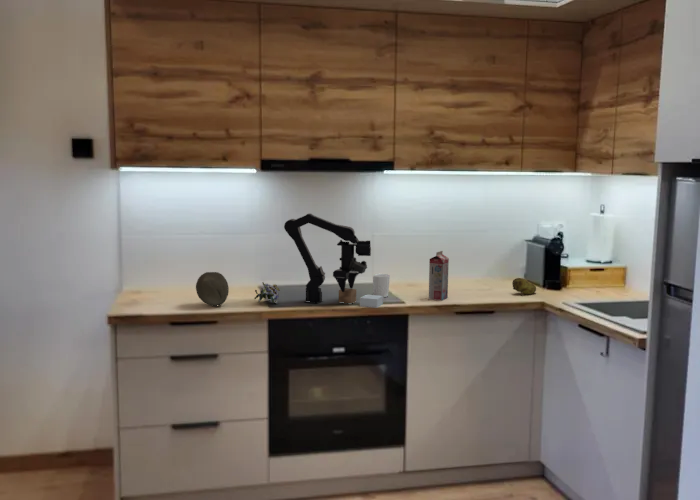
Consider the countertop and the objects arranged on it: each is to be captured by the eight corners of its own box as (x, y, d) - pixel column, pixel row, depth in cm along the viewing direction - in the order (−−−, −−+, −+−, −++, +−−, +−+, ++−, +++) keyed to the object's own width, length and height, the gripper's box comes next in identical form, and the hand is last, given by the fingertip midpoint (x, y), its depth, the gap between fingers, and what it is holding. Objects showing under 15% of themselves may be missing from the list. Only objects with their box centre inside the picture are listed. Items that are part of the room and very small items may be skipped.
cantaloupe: (232, 302, 294) (231, 269, 292) (225, 309, 280) (224, 275, 278) (200, 302, 295) (199, 269, 292) (192, 309, 281) (191, 274, 278)
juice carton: (447, 298, 307) (448, 251, 304) (441, 300, 302) (443, 252, 299) (434, 296, 311) (435, 250, 308) (428, 299, 305) (429, 251, 302)
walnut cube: (338, 303, 294) (338, 290, 294) (344, 301, 300) (344, 288, 299) (351, 304, 292) (351, 291, 291) (356, 302, 297) (356, 289, 297)
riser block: (359, 306, 289) (359, 297, 289) (365, 303, 297) (366, 294, 296) (377, 308, 286) (377, 299, 286) (382, 304, 294) (382, 295, 293)
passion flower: (275, 316, 293) (280, 297, 285) (251, 312, 291) (255, 293, 283) (277, 297, 301) (282, 279, 294) (253, 293, 300) (257, 275, 292)
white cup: (379, 298, 305) (379, 277, 304) (369, 295, 312) (369, 274, 311) (392, 296, 310) (393, 275, 308) (382, 293, 316) (383, 273, 315)
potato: (540, 295, 315) (541, 278, 314) (515, 296, 313) (515, 279, 312) (533, 292, 323) (534, 275, 322) (508, 292, 321) (509, 276, 320)
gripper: (356, 259, 281) (355, 295, 283) (372, 254, 298) (371, 288, 301) (332, 257, 286) (332, 293, 288) (349, 252, 303) (349, 286, 305)
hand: (347, 290), depth 295 cm, fingers open, 9 cm apart
